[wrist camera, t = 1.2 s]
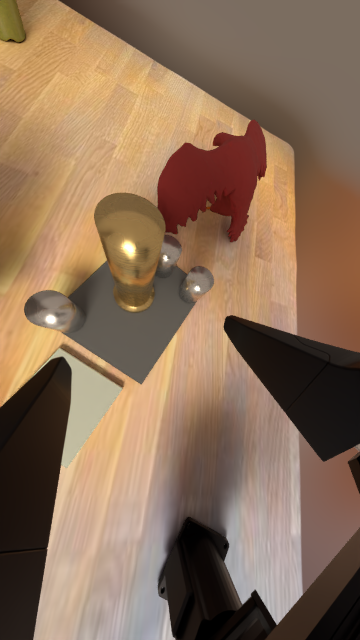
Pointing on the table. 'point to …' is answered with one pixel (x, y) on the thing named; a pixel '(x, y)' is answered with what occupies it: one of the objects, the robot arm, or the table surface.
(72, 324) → the spacers
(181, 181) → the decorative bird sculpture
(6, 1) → the plant pot
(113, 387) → the tile
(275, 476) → the table surface
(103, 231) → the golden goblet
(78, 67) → the table surface
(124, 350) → the mat
